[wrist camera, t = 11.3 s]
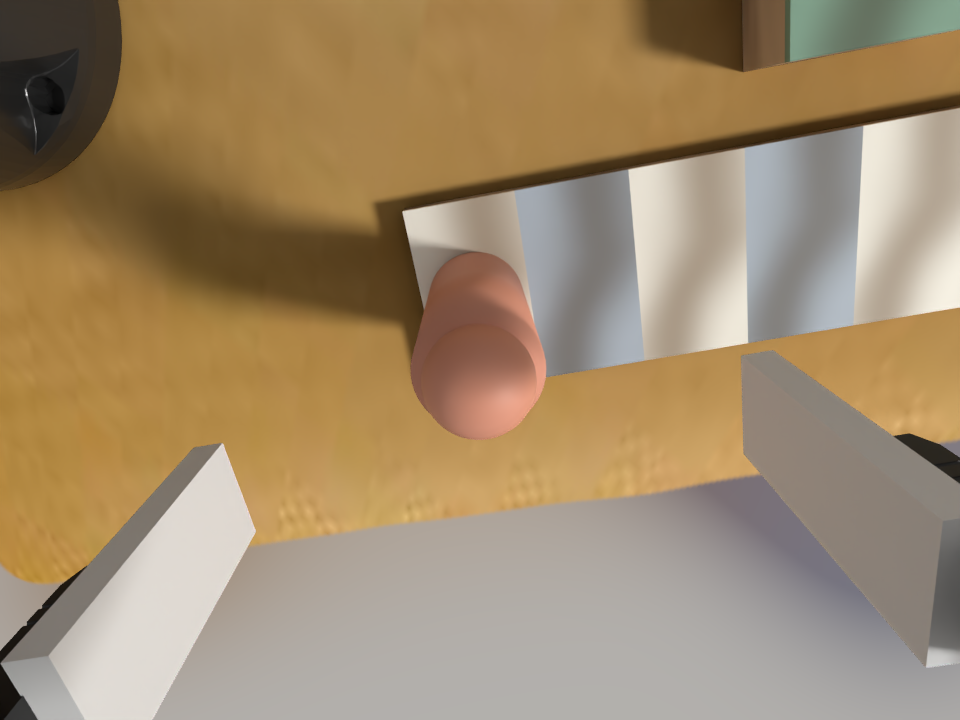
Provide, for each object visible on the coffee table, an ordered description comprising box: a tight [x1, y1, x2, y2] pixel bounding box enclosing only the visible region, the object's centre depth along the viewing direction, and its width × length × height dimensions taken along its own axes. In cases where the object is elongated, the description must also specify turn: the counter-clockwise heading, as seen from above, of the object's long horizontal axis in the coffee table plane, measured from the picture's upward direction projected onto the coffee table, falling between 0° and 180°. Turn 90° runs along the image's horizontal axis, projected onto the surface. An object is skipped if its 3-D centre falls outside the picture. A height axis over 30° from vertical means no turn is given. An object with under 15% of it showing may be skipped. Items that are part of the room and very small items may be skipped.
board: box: [402, 105, 960, 377], centre depth 28 cm, size 30×9×1 cm, turn 100°
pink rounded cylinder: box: [411, 252, 546, 440], centre depth 22 cm, size 4×4×12 cm
